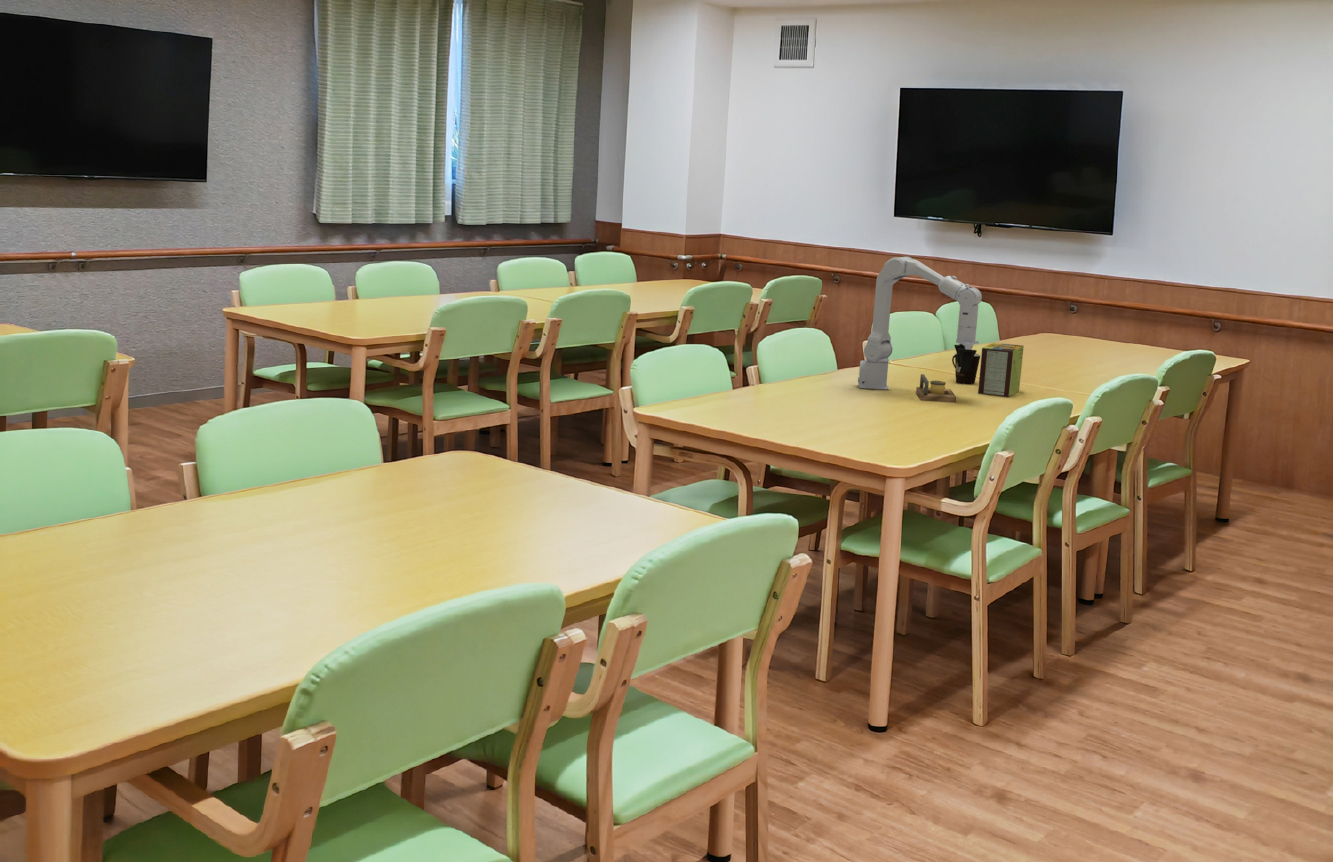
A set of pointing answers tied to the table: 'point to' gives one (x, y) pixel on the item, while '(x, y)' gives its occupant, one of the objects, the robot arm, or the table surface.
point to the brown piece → (925, 394)
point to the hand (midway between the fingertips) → (963, 369)
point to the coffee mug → (966, 376)
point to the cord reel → (937, 387)
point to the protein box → (1000, 369)
